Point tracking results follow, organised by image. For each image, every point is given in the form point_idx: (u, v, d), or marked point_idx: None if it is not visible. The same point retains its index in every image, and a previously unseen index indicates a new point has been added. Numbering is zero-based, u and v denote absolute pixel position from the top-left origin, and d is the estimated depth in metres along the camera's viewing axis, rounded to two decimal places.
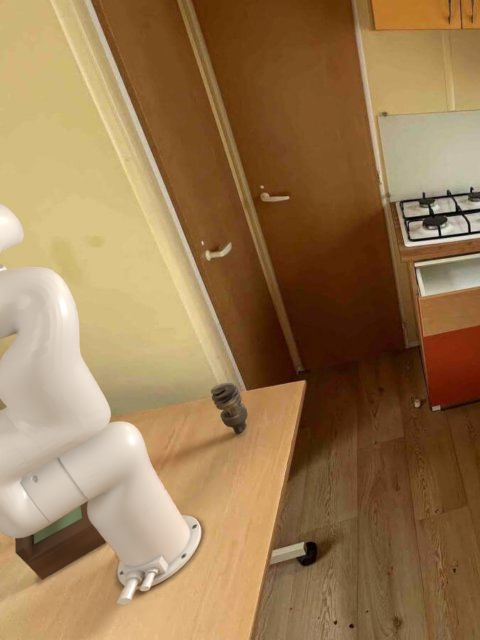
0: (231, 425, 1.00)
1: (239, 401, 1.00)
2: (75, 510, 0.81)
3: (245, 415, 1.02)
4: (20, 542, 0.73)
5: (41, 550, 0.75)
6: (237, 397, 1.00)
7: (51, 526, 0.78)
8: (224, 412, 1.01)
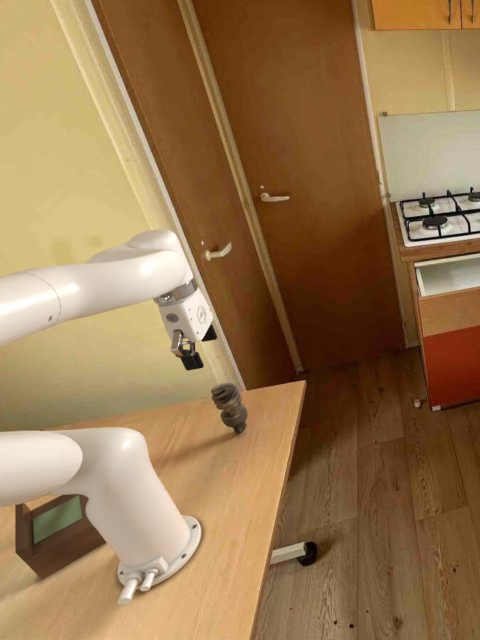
0: (231, 425, 1.00)
1: (239, 401, 1.00)
2: (75, 510, 0.81)
3: (245, 415, 1.02)
4: (20, 542, 0.73)
5: (41, 550, 0.75)
6: (237, 397, 1.00)
7: (51, 526, 0.78)
8: (224, 412, 1.01)
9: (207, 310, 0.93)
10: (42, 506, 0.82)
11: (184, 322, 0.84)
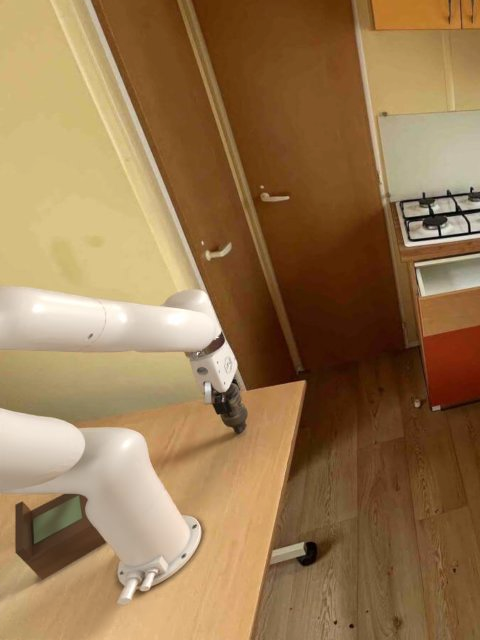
0: (231, 425, 1.00)
1: (239, 401, 1.00)
2: (75, 510, 0.81)
3: (245, 415, 1.02)
4: (20, 542, 0.73)
5: (41, 550, 0.75)
6: (237, 397, 1.00)
7: (51, 526, 0.78)
8: None
9: (232, 359, 0.99)
10: (42, 506, 0.82)
11: (213, 374, 0.91)
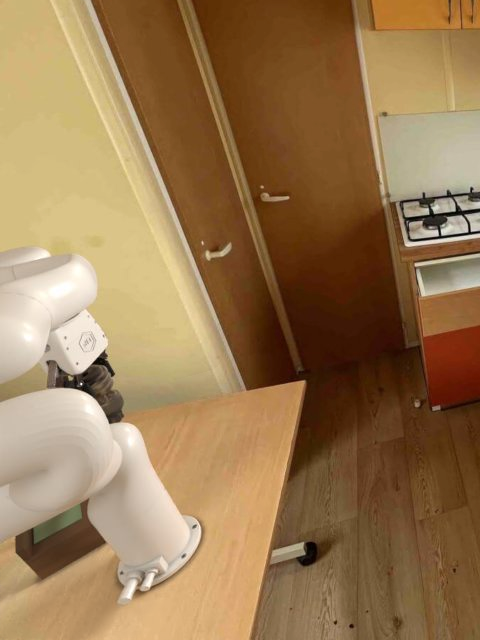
0: None
1: (108, 387, 0.84)
2: (75, 510, 0.81)
3: (118, 404, 0.86)
4: (20, 542, 0.73)
5: (41, 550, 0.75)
6: (104, 382, 0.83)
7: (51, 526, 0.78)
8: None
9: (99, 336, 0.82)
10: None
11: (58, 352, 0.74)
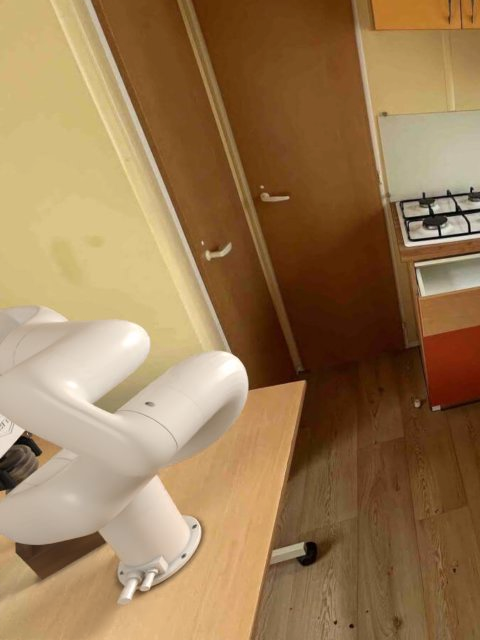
0: None
1: (32, 471, 0.73)
2: None
3: None
4: None
5: (41, 550, 0.75)
6: (27, 466, 0.73)
7: None
8: None
9: None
10: None
11: None
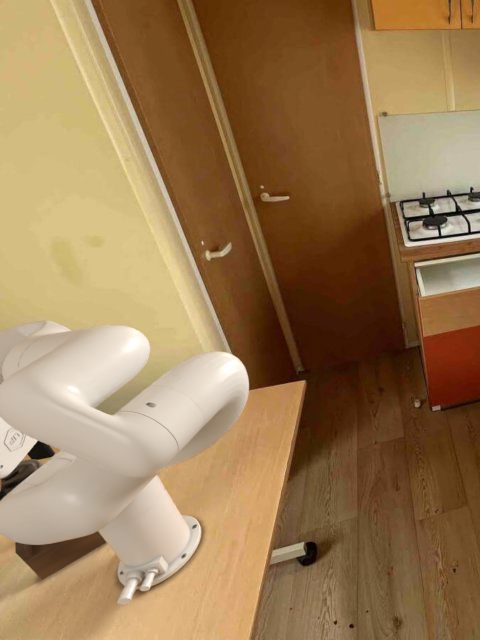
0: None
1: None
2: None
3: None
4: None
5: (41, 550, 0.75)
6: None
7: None
8: None
9: None
10: None
11: None
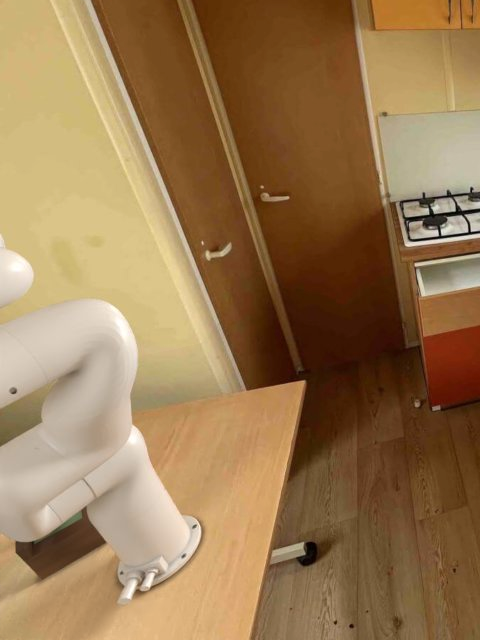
0: None
1: None
2: None
3: None
4: (20, 542, 0.73)
5: (41, 550, 0.75)
6: None
7: None
8: None
9: None
10: None
11: None
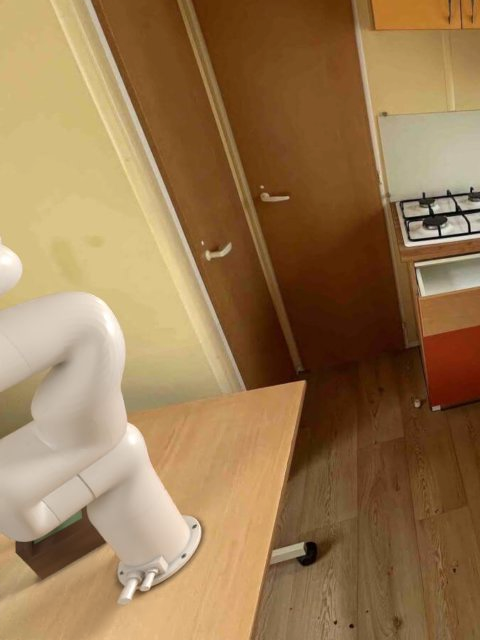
0: None
1: None
2: None
3: None
4: (20, 542, 0.73)
5: (41, 550, 0.75)
6: None
7: None
8: None
9: None
10: None
11: None
